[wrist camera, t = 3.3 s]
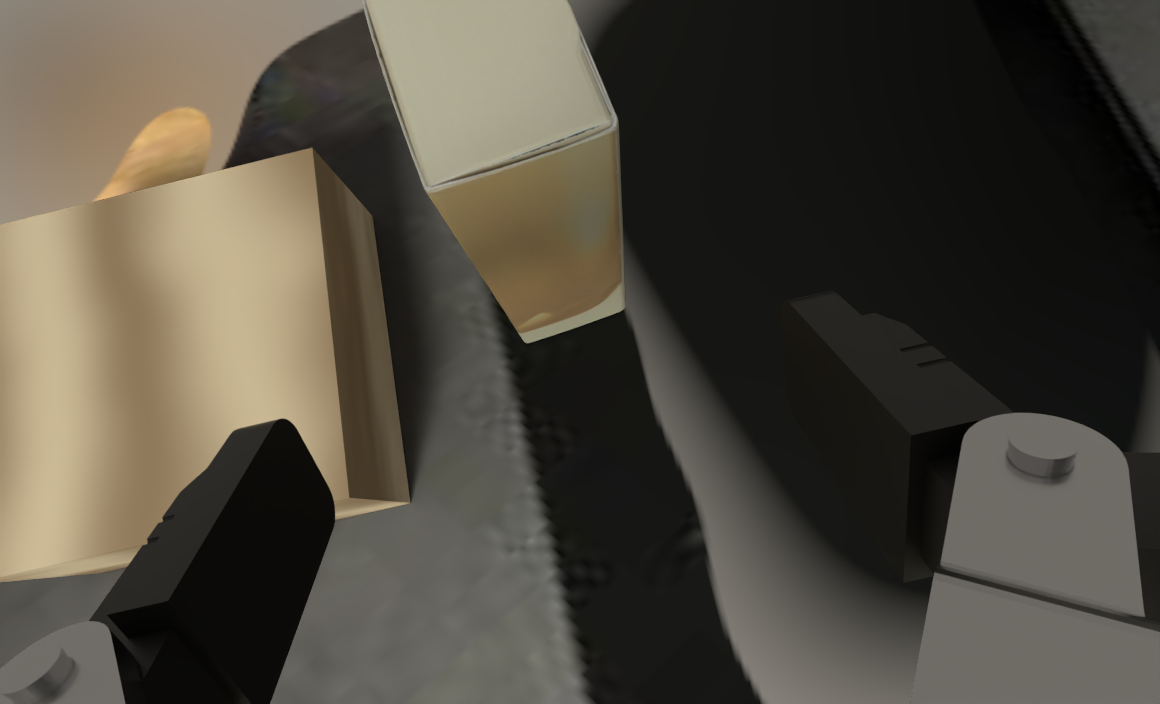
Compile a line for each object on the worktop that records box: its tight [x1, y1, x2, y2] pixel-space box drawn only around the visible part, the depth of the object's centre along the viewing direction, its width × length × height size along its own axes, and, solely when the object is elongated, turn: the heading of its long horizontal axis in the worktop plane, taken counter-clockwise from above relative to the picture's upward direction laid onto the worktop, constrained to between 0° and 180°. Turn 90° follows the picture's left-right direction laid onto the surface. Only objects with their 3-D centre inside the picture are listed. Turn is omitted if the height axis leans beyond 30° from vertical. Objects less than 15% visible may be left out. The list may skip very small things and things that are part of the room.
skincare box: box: [362, 0, 626, 343], centre depth 19 cm, size 6×4×12 cm
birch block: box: [0, 148, 410, 582], centre depth 22 cm, size 12×12×5 cm
